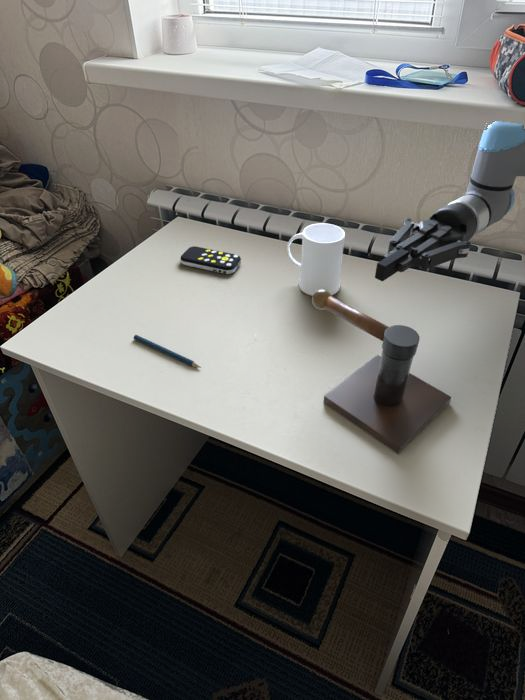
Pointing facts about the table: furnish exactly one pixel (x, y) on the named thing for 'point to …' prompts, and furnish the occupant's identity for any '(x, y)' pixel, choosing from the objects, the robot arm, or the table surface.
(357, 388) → the valve stand
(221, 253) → the remote control
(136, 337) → the pencil
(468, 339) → the table surface
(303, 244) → the mug
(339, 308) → the handle
